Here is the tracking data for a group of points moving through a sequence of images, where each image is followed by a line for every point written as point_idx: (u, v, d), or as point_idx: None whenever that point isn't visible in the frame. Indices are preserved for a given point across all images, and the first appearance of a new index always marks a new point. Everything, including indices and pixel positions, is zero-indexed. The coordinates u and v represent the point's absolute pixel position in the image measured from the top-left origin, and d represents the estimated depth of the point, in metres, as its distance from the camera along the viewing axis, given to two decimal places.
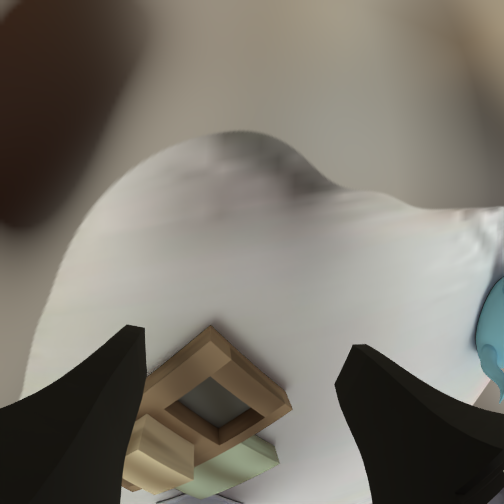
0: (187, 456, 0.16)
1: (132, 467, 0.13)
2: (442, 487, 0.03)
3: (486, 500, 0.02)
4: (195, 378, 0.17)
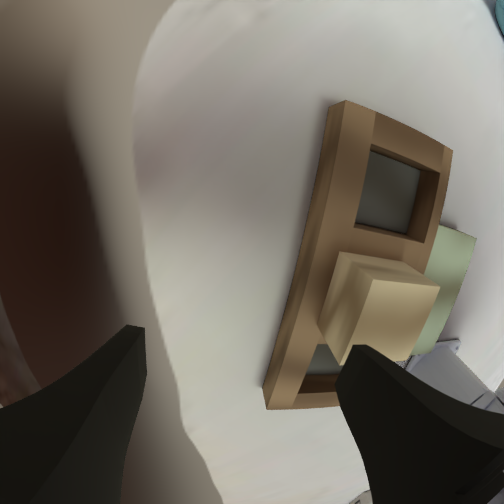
0: (411, 270, 0.14)
1: (374, 327, 0.12)
2: (442, 487, 0.03)
3: (486, 500, 0.02)
4: (361, 155, 0.14)
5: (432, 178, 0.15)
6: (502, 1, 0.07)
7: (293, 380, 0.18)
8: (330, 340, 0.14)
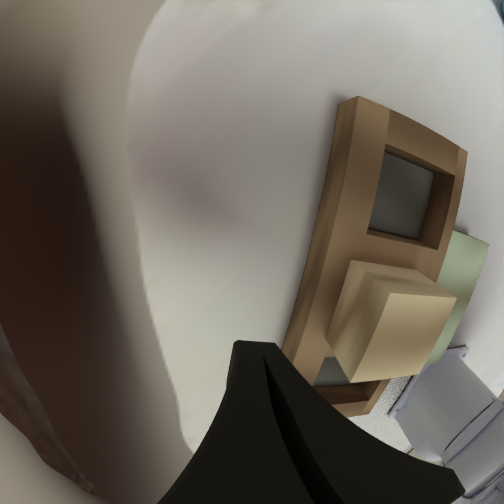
0: (426, 280, 0.13)
1: (389, 343, 0.11)
2: None
3: None
4: (375, 156, 0.12)
5: (446, 181, 0.14)
6: None
7: None
8: (340, 355, 0.13)
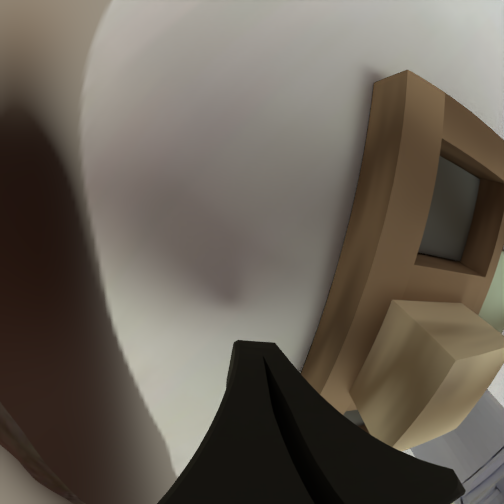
0: (478, 320, 0.08)
1: (437, 412, 0.07)
2: None
3: None
4: (430, 156, 0.08)
5: (497, 190, 0.09)
6: None
7: None
8: (370, 421, 0.09)
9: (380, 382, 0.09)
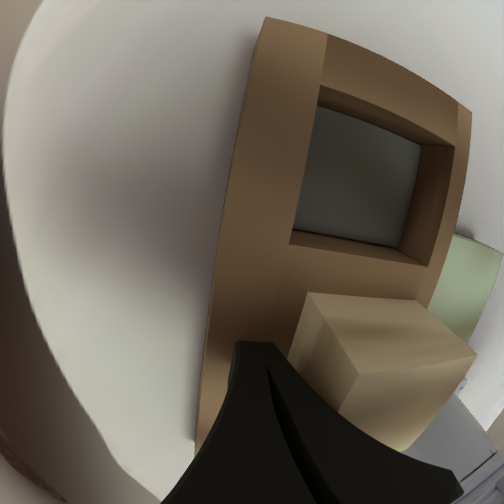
0: (430, 321, 0.08)
1: None
2: None
3: None
4: (299, 106, 0.07)
5: (441, 156, 0.09)
6: None
7: None
8: None
9: None
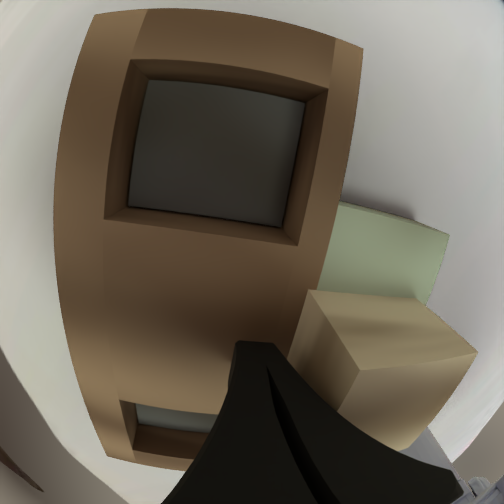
0: (431, 319, 0.08)
1: None
2: None
3: None
4: (108, 85, 0.06)
5: (318, 106, 0.08)
6: None
7: (115, 434, 0.11)
8: None
9: None
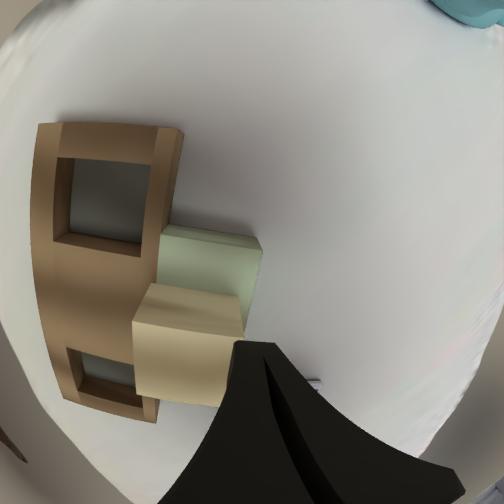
0: (228, 310, 0.14)
1: (157, 367, 0.12)
2: None
3: None
4: (49, 172, 0.12)
5: None
6: None
7: (66, 376, 0.16)
8: None
9: None
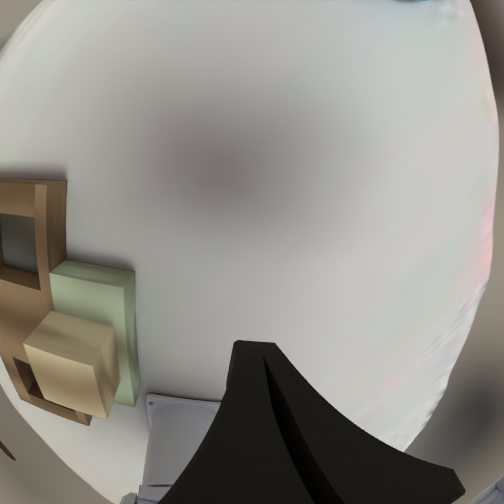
0: (95, 339, 0.13)
1: (48, 379, 0.12)
2: None
3: None
4: None
5: None
6: None
7: (17, 380, 0.16)
8: None
9: None
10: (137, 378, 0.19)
